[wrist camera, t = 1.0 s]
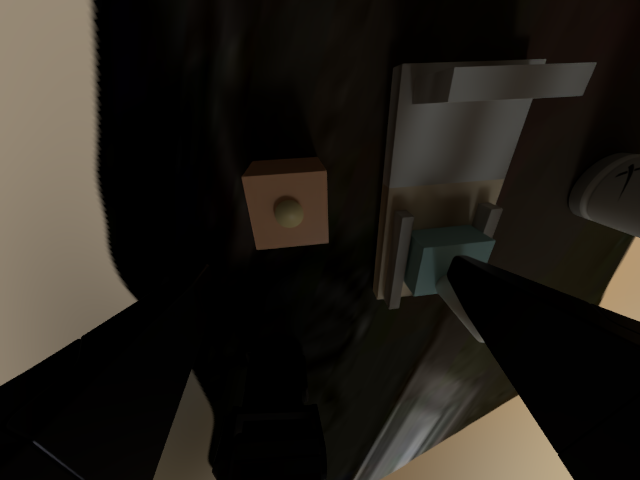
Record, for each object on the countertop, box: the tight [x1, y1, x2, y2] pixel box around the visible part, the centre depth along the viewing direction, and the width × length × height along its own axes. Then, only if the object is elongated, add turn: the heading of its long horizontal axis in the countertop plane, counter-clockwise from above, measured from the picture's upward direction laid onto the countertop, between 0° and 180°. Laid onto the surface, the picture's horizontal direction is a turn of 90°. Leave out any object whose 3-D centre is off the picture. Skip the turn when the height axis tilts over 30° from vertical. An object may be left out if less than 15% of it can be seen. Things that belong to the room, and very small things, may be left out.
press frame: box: [373, 59, 597, 309], centre depth 19 cm, size 10×20×6 cm, turn 3°
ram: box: [404, 225, 495, 343], centre depth 19 cm, size 6×5×8 cm
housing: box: [242, 157, 329, 250], centre depth 17 cm, size 5×5×5 cm
